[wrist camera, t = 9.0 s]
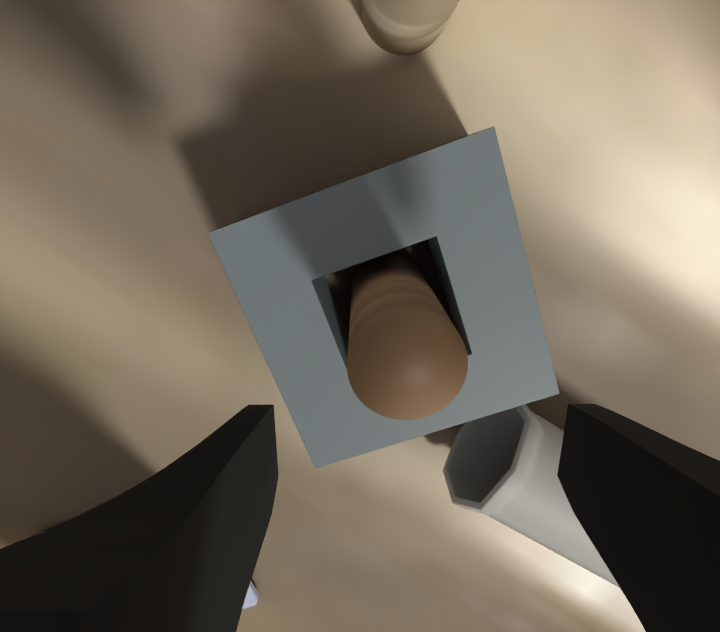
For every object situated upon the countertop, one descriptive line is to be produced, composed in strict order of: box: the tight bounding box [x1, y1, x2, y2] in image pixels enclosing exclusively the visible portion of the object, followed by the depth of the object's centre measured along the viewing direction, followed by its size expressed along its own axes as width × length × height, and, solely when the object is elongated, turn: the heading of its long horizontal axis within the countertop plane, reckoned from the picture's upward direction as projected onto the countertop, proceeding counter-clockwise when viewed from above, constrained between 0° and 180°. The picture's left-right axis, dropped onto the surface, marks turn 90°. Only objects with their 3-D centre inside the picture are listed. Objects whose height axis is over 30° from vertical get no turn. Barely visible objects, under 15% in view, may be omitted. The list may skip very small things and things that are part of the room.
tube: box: [443, 404, 619, 587], centre depth 21 cm, size 5×5×25 cm
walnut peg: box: [347, 254, 468, 420], centre depth 16 cm, size 3×3×8 cm
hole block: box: [208, 127, 560, 468], centre depth 18 cm, size 10×10×4 cm
